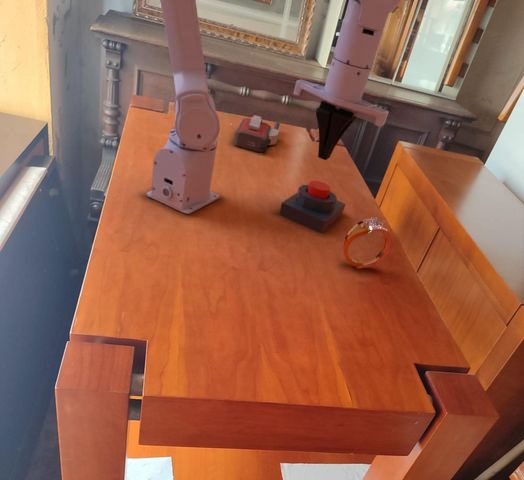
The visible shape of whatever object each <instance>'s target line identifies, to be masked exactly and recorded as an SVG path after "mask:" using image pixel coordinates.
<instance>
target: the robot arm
mask: <svg viewBox="0 0 524 480" xmlns="http://www.w3.org/2000/svg"><path fill="white" fill-rule="evenodd" d="M401 1H402V0H348V3H347V6H346V10H345V14H344V17H343V19H342V23H341V26H340V29H339V34H338V37H337V40H336V45H335V48H334V52H333V55H332V59H331V62H330V66H329V70H328V73H327V76H326V80H325V85H321V84H318V83H314V82H311V81H309V80H308V81H307V80H304V79H298V80H296V81H295V86H294V90H293V95H294V96H297V97H302V98H306V99H309V100H310V101H313V102H316V103H319V106H318V107H316V110H315V116H316V121H317V127H318V153H317V158H318V159H322V160H324V161H327V160H328V159H330V157H331V155H332V153H333V152H334V149H335V148H336V146H337V144H338V143H339V141H340V140H341V138H342V137H343V135H344V134H345V133H346V132H347V130H348V129H349V128H350V127H351V125H352V124H353V123H354V122H355V121H356V119H357V118H359V119H362V120H365V121H367V122H369V123H372V124H374V125H375V126H376V127H378V128H381V127H383V126H385V124H386V121H387V118H388V115H389V110H386V109H384V108H382V107H379V106H377V105H375V104H373V103H371V102H369V101H367V100H364V99H362V98H363V96H364V92H365V89H366V86H367V83H368V80H369V76H370V73H371V70H372V68H373V65H374V62H375V58H376V56H377V52H378V49H379V46H380V43H381V41H382V37H383V33H384V30H385V26H386V23H387V20H388V17H389V14H390V13H391V12H393V11H394V10H395V9H396V8H397V7H398V5H399V4H400V3H401ZM159 3H160V8H161V13H162V14H161V15H162V21H163V24H164V30H165V36H166V41H167V47H168V53H169V59H170V64H171V68H172V70H171V71H172V76H173V83H174V92H175V98H174V104H173V107H174V113H175V116H174V117H175V118H174V126H173V127H172V129H170V130H169V134H168V139H167V141H166V144H165V145H164V146H163V147H162V148H161V149H159V150H158V151H157V152H156V154H155V155H154V158H153V167H152V179H151V190H149V191H147V192H146V197H148V198H150V199H153V200H155V201H157V202H159V203H161V204H163V205H166V206H168V207H170V208H172V209H174V210H176V211H178V212H181V213H183V214H185V215H191V214H192V213H194V212H196V211H198V210H200V209H202V208H203V207H205V206H207V205H209V204H211V203H213V202H215V201H217V200H219V199H220V195H219V194H218V193H215V192H213V191H211V186H212V180H213V174H214V173H213V172H214V167H215V160H216V153H217V148H218V147H217V146H218V140H217V138H218V136H219V134H220V130H221V124H220V123H221V122H220V118H219V116H218V114H217V113H218V112H217V104H216V100H215V98H214V96H213V94H212V93H211V90H210V89H209V86H208V79H207V74H206V65H205V58H204V52H203V45H202V37H201V29H200V22H199V14H198V8H197V0H159Z"/></svg>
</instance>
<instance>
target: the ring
mask: <svg viewBox="0 0 524 480" xmlns="http://www.w3.org/2000/svg"><path fill="white" fill-rule="evenodd" d="M386 223H387V222H386V221H385V220H383V222H382V221H380V220H379V221H378V217H377V216H375V217H373V216H371V217H370V218H366V219H365V218H364V219H363V220H361V221H359V222H357V223H356V224H354V225H353V227H351V228H350V230H349V231H348V232H347V234H346V236H345V237H344V239H343V242H342V253H343V256H344V259H345V261H346V262H347V263H348V264H349V265H350V266H353V267H355V268H356V269H359V270H361V269H366V268H371V267H373V266H377V265H378V264H379V263H381V262H382V261H383V260H384V259H385V258H386V257H387V255H388V254H389V252H390V250H391V246H392V236H391V233H390V232H389V230H388V229H387V228H385V227H384V226H385V225H386ZM371 232H379V233H380V234H381V236H382V238H383V245H382V247H381V250H380V252H379V253H378V254H377V255H376V256H375V257H374V258H372V259H369V260H367V261H362V259H357V260H355V259H353V258H352V257H351V256H350V254H349V249H350V246H351V244H352V242H354V241H355V240H357V238H359V237H361V236H364V235H367V234H370V233H371Z"/></svg>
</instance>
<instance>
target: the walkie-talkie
mask: <svg viewBox="0 0 524 480" xmlns="http://www.w3.org/2000/svg"><path fill="white" fill-rule="evenodd" d="M263 119H264V117H263V116H260V115H256V114H252V117H251V118H249V117H246V118H243V119H241V122H240V123H239V126H238V128H237V130H236V131H235V136H234V142H233V144H234V145H235V146H236V147H237V148H242V149H245V150H248V151H252V152H255V153H256V152H257V153H264V151H266V150H267V147H268V146H272V145H273V146H275V145H276V144H277V142H278V140H279V137H280V133H281V130H280V129H279V128H280V122H278V121H276V122H275V123H274V127H273V128H272V125H270V124H269V123H267V122H265V121H263Z"/></svg>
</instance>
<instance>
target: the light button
mask: <svg viewBox="0 0 524 480" xmlns="http://www.w3.org/2000/svg"><path fill="white" fill-rule="evenodd" d="M308 185H309V187H308V191H307V193H308V194H309V195H311V196H313V197H315V198H319V199H327V198H328V195H329V192H330V191H331V186H330V185H329V184H327V183H326V182H322V181H319V180H311V181H309V184H308Z"/></svg>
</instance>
